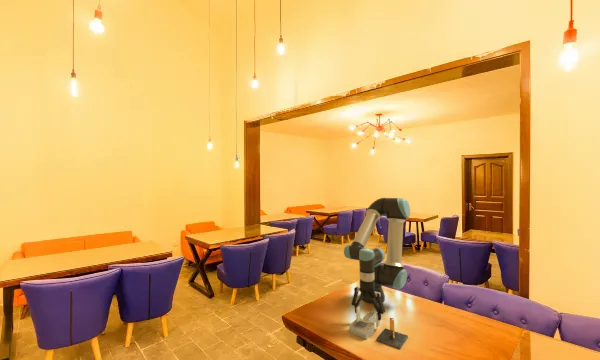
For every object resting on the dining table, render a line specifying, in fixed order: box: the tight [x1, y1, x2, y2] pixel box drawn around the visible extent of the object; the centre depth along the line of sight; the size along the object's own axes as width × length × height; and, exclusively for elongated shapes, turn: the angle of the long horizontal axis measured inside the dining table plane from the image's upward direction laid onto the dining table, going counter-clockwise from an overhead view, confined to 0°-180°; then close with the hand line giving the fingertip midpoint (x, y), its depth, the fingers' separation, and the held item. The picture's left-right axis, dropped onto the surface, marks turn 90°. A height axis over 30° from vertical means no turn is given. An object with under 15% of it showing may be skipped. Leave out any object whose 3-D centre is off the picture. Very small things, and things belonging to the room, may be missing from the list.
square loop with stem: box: [349, 310, 377, 340], centre depth 138 cm, size 18×9×5 cm, turn 141°
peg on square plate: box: [375, 317, 409, 350], centre depth 128 cm, size 11×11×10 cm
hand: (368, 322), depth 140 cm, fingers open, 10 cm apart
